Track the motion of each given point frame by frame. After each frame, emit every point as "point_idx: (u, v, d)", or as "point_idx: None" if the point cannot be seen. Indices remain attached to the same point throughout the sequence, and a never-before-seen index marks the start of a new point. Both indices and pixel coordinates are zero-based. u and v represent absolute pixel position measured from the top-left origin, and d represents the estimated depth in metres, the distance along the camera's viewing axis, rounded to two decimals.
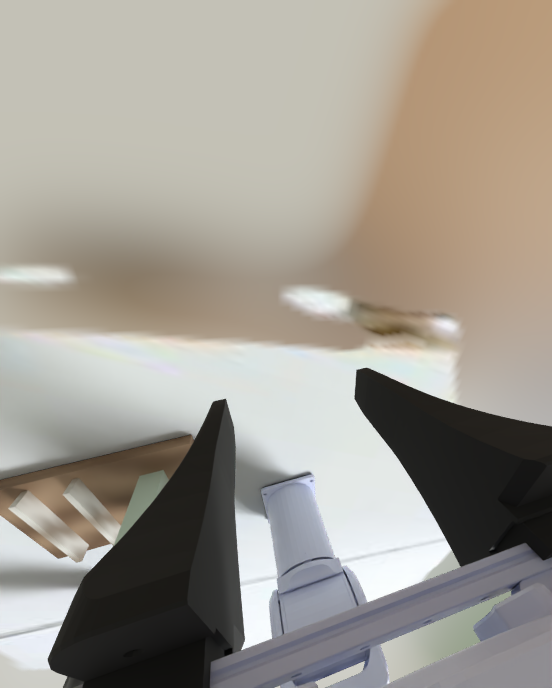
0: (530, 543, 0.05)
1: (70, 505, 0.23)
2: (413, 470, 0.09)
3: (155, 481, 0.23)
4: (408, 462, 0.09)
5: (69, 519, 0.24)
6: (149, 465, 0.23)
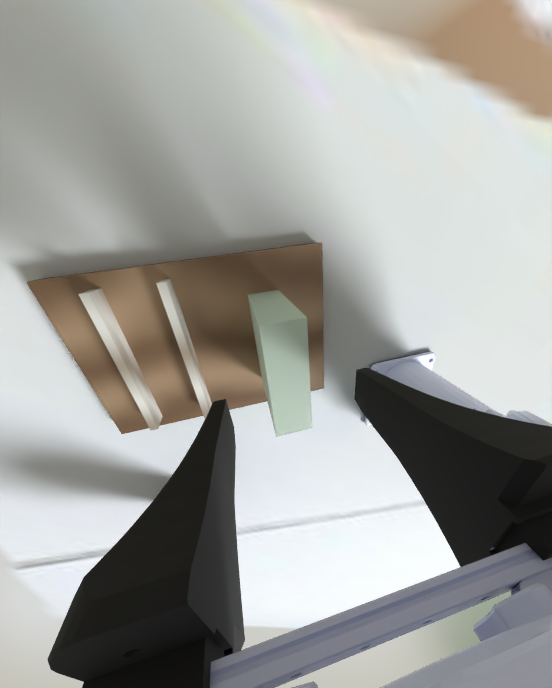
0: (531, 543, 0.05)
1: (151, 333, 0.17)
2: (413, 470, 0.09)
3: (275, 294, 0.16)
4: (408, 462, 0.09)
5: (146, 361, 0.17)
6: (263, 275, 0.16)
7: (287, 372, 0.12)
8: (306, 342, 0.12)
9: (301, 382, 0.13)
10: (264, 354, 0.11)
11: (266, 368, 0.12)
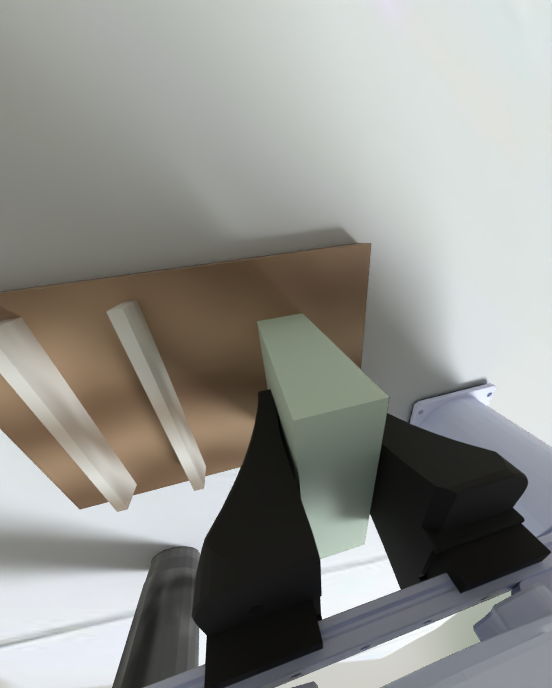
0: (450, 574, 0.05)
1: (112, 381, 0.11)
2: None
3: (299, 322, 0.10)
4: None
5: (107, 418, 0.12)
6: (281, 292, 0.11)
7: (337, 483, 0.07)
8: (379, 437, 0.06)
9: (359, 493, 0.07)
10: (299, 464, 0.06)
11: (300, 482, 0.06)
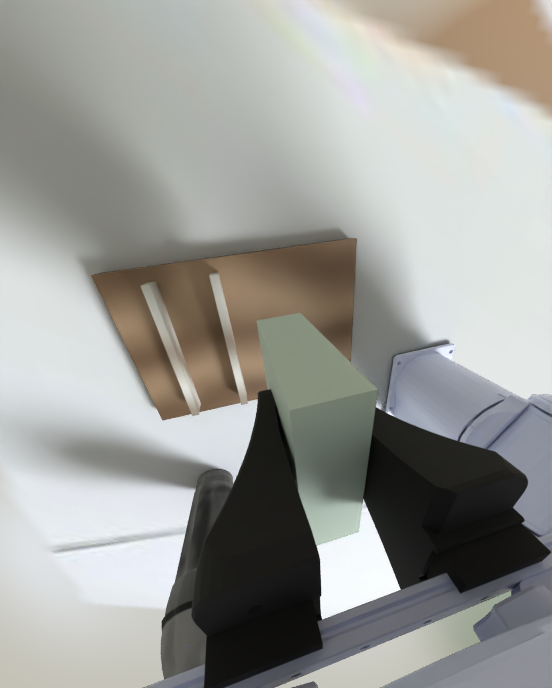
0: (451, 575, 0.05)
1: (197, 324, 0.18)
2: None
3: (297, 321, 0.11)
4: None
5: (190, 350, 0.19)
6: (301, 269, 0.18)
7: (331, 471, 0.07)
8: (370, 427, 0.06)
9: (352, 481, 0.08)
10: (295, 451, 0.06)
11: (297, 469, 0.07)
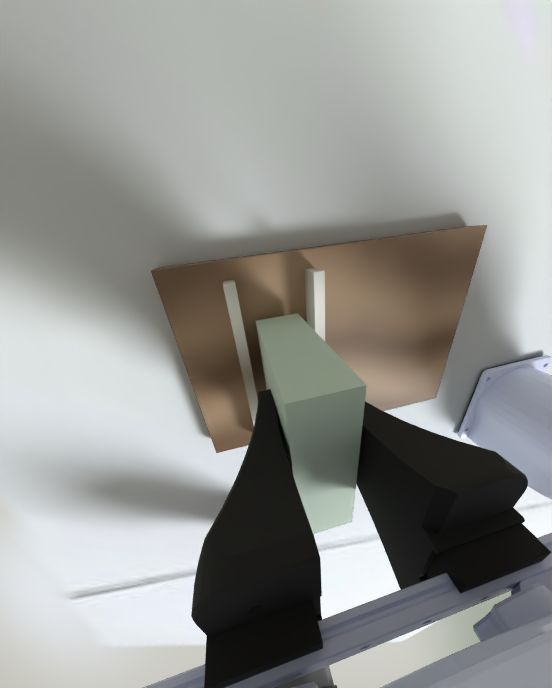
0: (450, 574, 0.05)
1: None
2: (362, 485, 0.08)
3: (294, 321, 0.11)
4: (358, 477, 0.09)
5: (262, 369, 0.15)
6: (414, 265, 0.13)
7: (325, 462, 0.08)
8: (360, 420, 0.07)
9: (344, 471, 0.08)
10: (290, 443, 0.07)
11: (292, 460, 0.07)
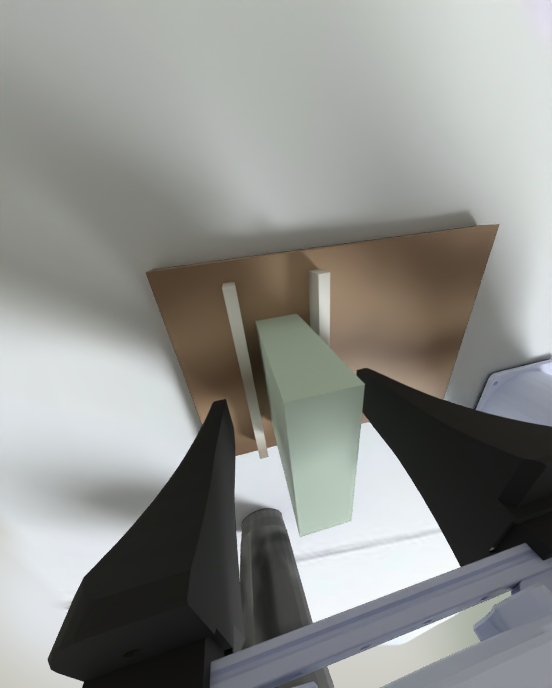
0: (531, 543, 0.05)
1: None
2: (413, 470, 0.09)
3: (294, 321, 0.11)
4: (408, 462, 0.09)
5: (263, 374, 0.14)
6: (422, 266, 0.13)
7: (324, 460, 0.08)
8: (358, 419, 0.07)
9: (343, 471, 0.08)
10: (289, 441, 0.07)
11: (291, 459, 0.07)
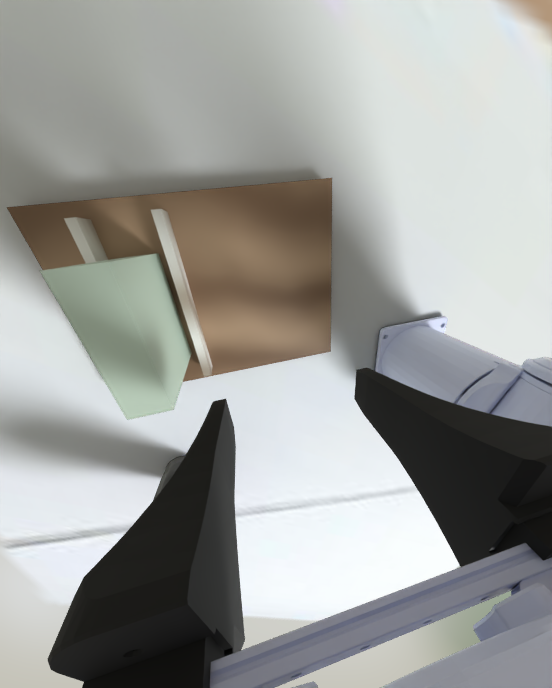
0: (531, 543, 0.05)
1: None
2: (413, 470, 0.09)
3: None
4: (408, 462, 0.09)
5: None
6: (268, 214, 0.15)
7: (109, 336, 0.10)
8: (122, 297, 0.09)
9: (135, 350, 0.10)
10: (65, 311, 0.09)
11: (77, 330, 0.10)
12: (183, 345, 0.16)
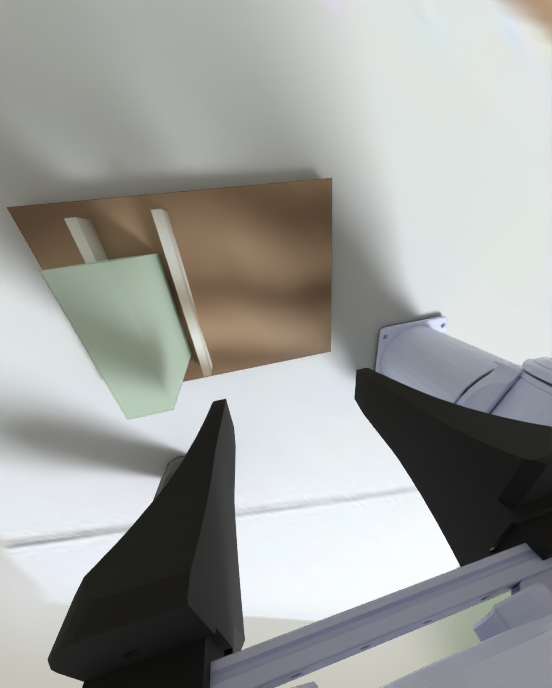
0: (531, 543, 0.05)
1: None
2: (413, 470, 0.09)
3: None
4: (408, 462, 0.09)
5: None
6: (268, 214, 0.15)
7: (109, 336, 0.10)
8: (122, 297, 0.09)
9: (135, 350, 0.10)
10: (65, 311, 0.09)
11: (77, 330, 0.10)
12: (183, 345, 0.16)
